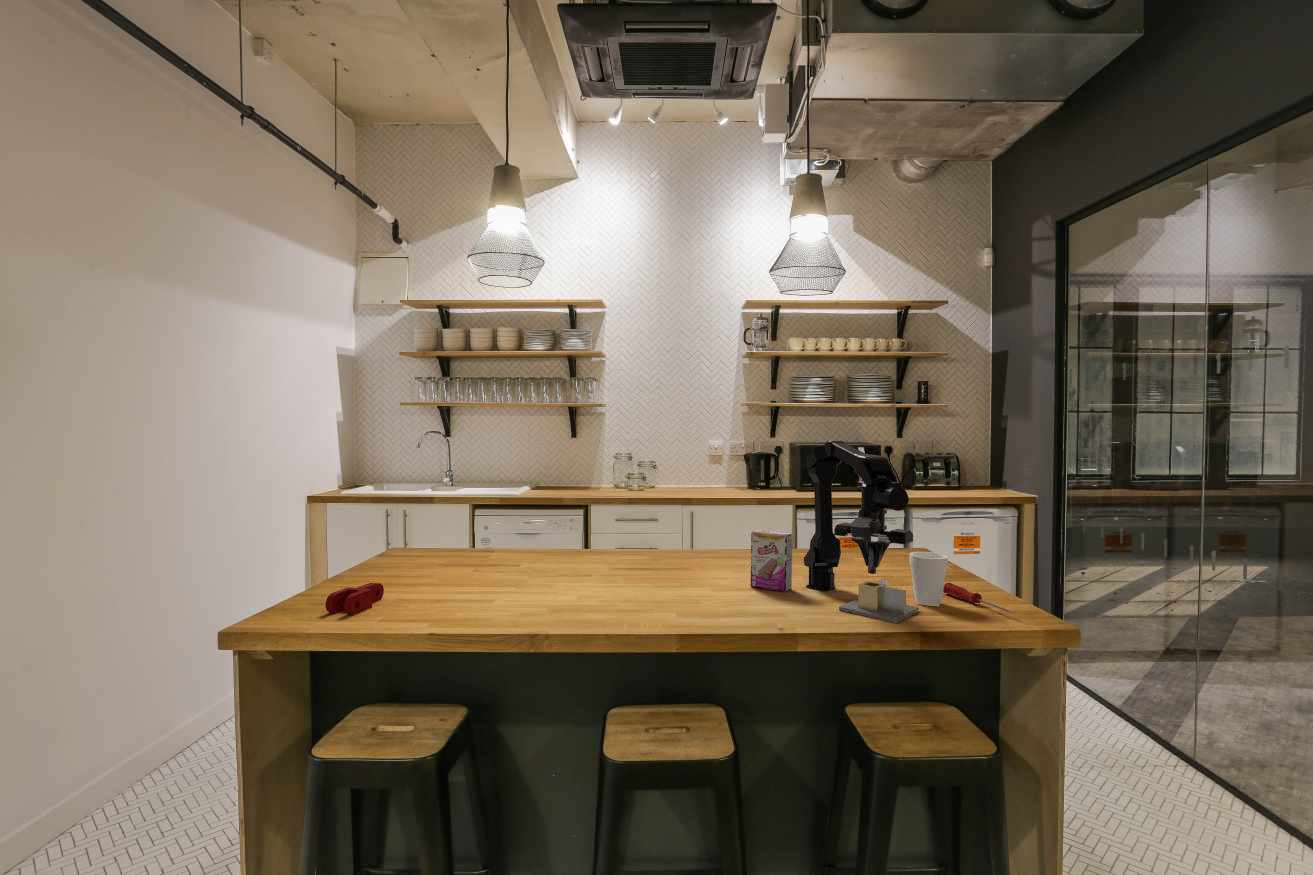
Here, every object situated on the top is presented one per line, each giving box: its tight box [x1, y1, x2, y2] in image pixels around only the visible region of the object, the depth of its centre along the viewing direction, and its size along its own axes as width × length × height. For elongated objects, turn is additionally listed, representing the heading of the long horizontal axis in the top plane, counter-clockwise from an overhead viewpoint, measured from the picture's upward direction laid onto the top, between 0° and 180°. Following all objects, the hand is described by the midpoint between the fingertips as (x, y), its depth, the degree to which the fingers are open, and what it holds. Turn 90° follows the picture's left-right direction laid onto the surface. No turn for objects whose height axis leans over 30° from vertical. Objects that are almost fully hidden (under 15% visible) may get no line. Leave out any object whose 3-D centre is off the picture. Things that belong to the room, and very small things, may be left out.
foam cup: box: [909, 551, 949, 605], centre depth 172 cm, size 10×9×13 cm
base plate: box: [838, 598, 920, 624], centre depth 165 cm, size 15×14×1 cm
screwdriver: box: [943, 582, 1016, 614], centre depth 170 cm, size 4×25×4 cm, turn 13°
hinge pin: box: [867, 540, 877, 575], centre depth 164 cm, size 2×2×8 cm
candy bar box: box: [750, 529, 793, 593], centre depth 187 cm, size 11×5×16 cm, turn 58°
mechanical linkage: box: [325, 582, 385, 616], centre depth 166 cm, size 16×7×5 cm, turn 167°
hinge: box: [857, 578, 907, 615], centre depth 164 cm, size 11×11×6 cm
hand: (872, 566), depth 164 cm, fingers closed on hinge pin, 2 cm apart
